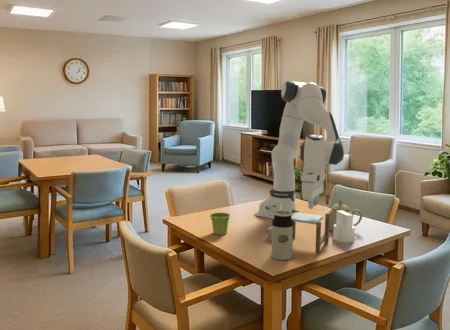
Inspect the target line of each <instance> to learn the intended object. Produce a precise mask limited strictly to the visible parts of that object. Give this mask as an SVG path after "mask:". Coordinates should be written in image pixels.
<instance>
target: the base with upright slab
mask: <svg viewBox="0 0 450 330" xmlns="http://www.w3.org/2000/svg"><path fill="white" fill-rule="evenodd" d="M353 217H354V215H352V214H349V213H347V212H345V211H343V210H339V211H337V216H336V224H334V230H333V231H332V232H333V235H332V236H333V237H332V238H333V239H332V240H333V241H336V242H340V243H352V242H354V241H355V227H356V226H353V225H354V224H353V219H354V218H353Z"/></svg>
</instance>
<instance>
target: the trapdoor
mask: <svg viewBox="0 0 450 330" xmlns="http://www.w3.org/2000/svg"><path fill="white" fill-rule="evenodd" d="M291 218H292V220H293V221H295V222H296V223H301V224H307V225H308V224H309V225H315V226H316V222H317V221H319V222H321V221H322V220H323V218H324V215H319V214H313V213H312V214H311V213H304V212H299V213H298V212H295V213H293V214H292V216H291Z"/></svg>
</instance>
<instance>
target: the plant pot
mask: <svg viewBox="0 0 450 330" xmlns="http://www.w3.org/2000/svg"><path fill="white" fill-rule="evenodd" d="M209 217H210V220H211V225H212V231H213V234H214V235H215V236H216V235H219V236H222V235H227V233H228V226H229V219H230V217H231V214H230V213H228V212H213V213H211V214H209Z"/></svg>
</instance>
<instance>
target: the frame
mask: <svg viewBox="0 0 450 330" xmlns="http://www.w3.org/2000/svg"><path fill="white" fill-rule="evenodd" d="M295 212H298V213H300V212H299V210H297V209H296V210H295V209H292V213H295ZM329 219H330V214H329V212H326V213H325V214H324V233H323V234H321V233H322V222H321V221H317V222H316V225H315V252H314V253H315V254H317V255H320V254H321V246H322V245H323V243H324V244H329V242H330V230H329ZM296 223H297V222H295V221H293V239H292V240H294V239H296V226H297V225H296Z"/></svg>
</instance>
